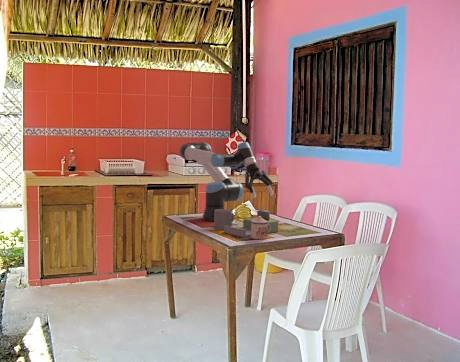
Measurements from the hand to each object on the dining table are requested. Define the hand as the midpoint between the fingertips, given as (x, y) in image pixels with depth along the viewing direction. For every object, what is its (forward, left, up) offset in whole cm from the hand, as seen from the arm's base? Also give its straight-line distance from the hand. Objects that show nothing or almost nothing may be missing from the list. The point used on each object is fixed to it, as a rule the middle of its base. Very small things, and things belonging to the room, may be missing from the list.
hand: (263, 196), depth 332 cm
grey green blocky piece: (+12, -22, -17) cm, 30 cm away
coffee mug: (-7, -24, -18) cm, 31 cm away
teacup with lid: (+26, -28, -17) cm, 42 cm away
